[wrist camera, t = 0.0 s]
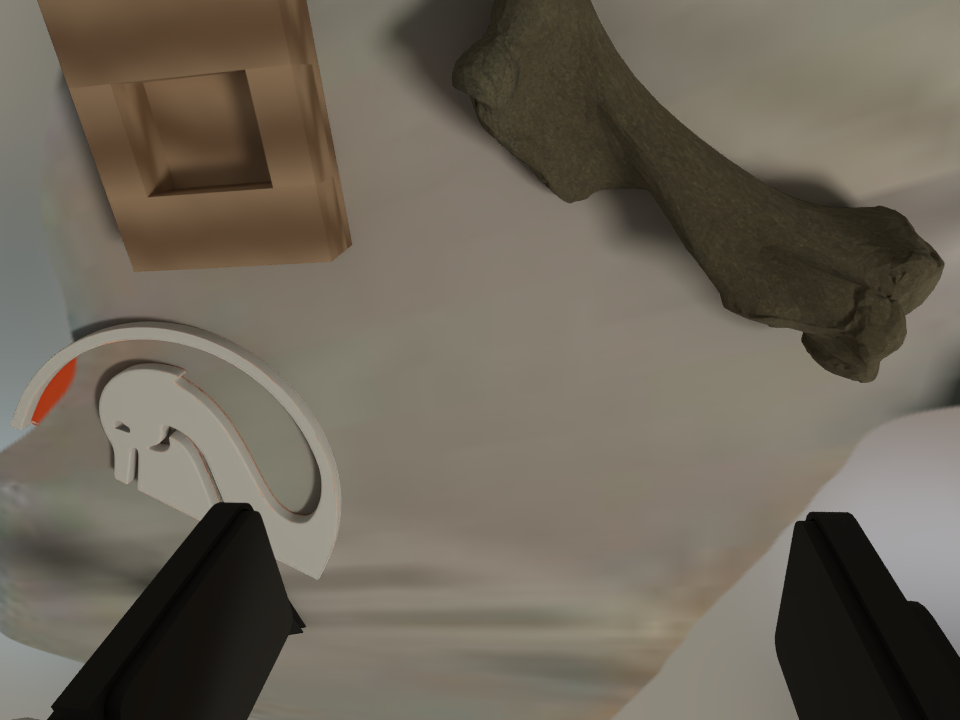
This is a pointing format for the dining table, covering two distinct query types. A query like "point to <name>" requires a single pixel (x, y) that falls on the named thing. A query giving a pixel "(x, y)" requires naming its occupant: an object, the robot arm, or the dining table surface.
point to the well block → (205, 128)
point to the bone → (695, 187)
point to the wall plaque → (195, 437)
